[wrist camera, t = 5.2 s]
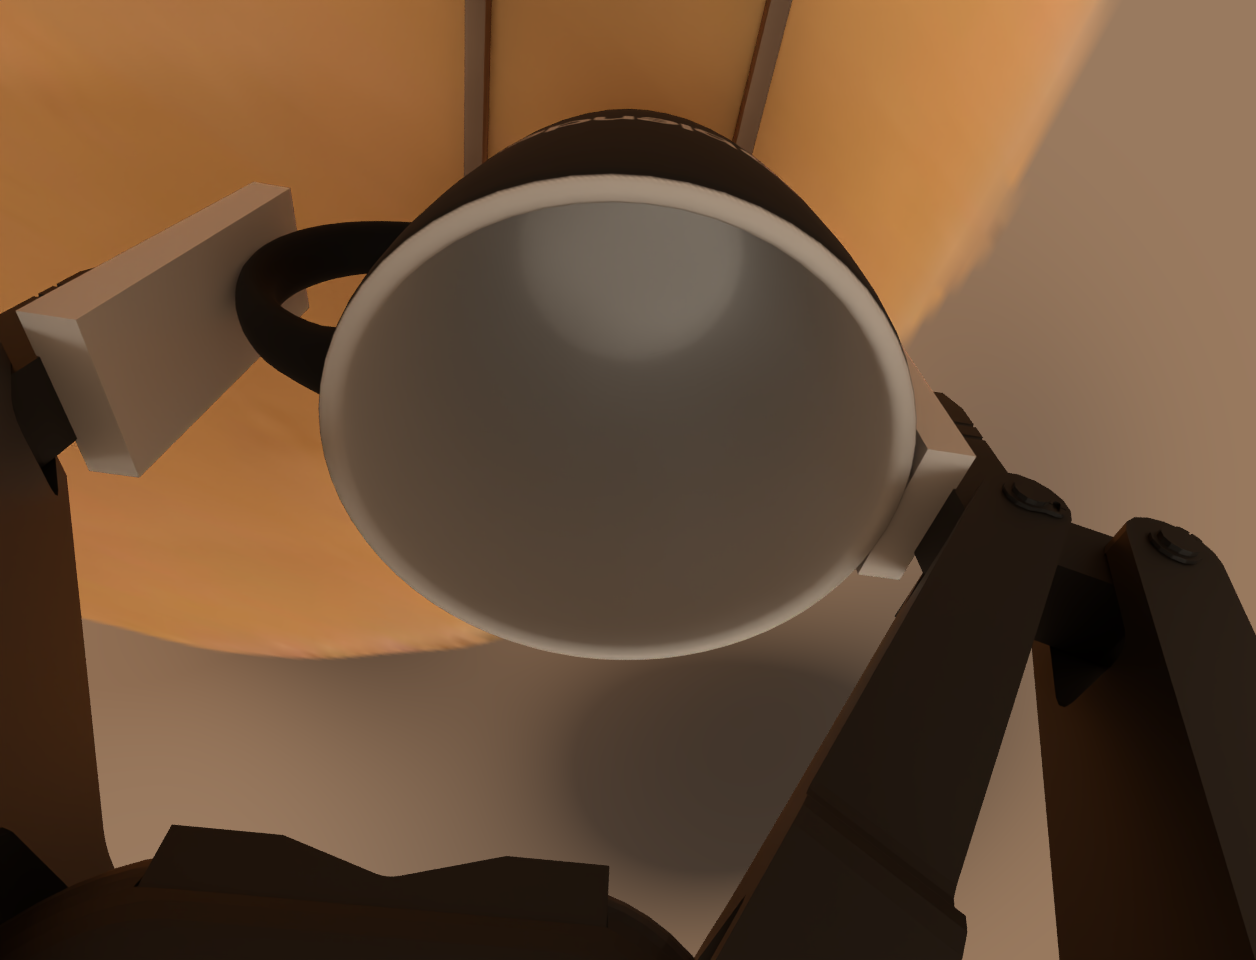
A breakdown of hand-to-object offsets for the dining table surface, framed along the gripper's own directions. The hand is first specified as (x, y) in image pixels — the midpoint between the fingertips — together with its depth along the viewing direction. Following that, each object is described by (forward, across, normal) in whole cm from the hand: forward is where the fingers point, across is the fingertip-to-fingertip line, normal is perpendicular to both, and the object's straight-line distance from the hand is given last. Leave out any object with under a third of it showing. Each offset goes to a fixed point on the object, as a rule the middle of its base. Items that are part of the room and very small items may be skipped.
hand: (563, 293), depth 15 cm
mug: (+4, 0, 0) cm, 4 cm away
